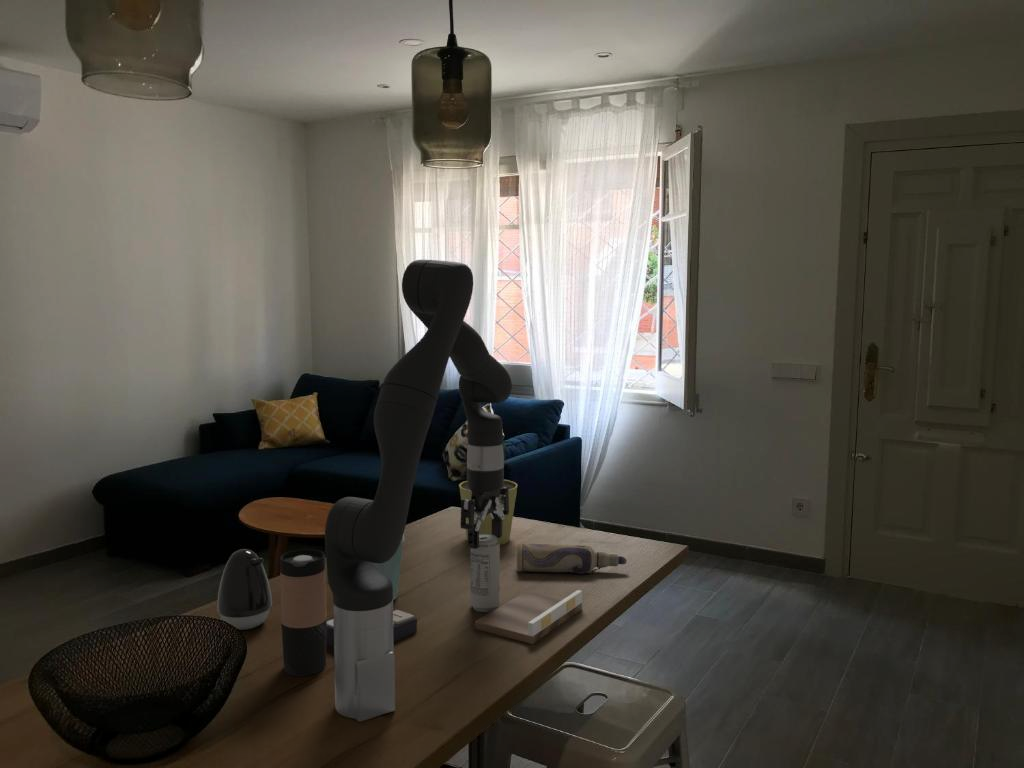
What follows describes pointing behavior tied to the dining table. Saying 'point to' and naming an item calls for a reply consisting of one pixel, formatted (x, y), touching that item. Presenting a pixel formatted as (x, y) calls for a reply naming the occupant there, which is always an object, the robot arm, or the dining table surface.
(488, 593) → the energy drink can
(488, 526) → the potted cactus
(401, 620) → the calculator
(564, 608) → the price rail
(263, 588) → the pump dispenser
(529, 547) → the decorative bottle
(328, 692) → the dining table surface
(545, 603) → the shelf board
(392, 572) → the disposable coffee cup
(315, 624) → the travel mug
